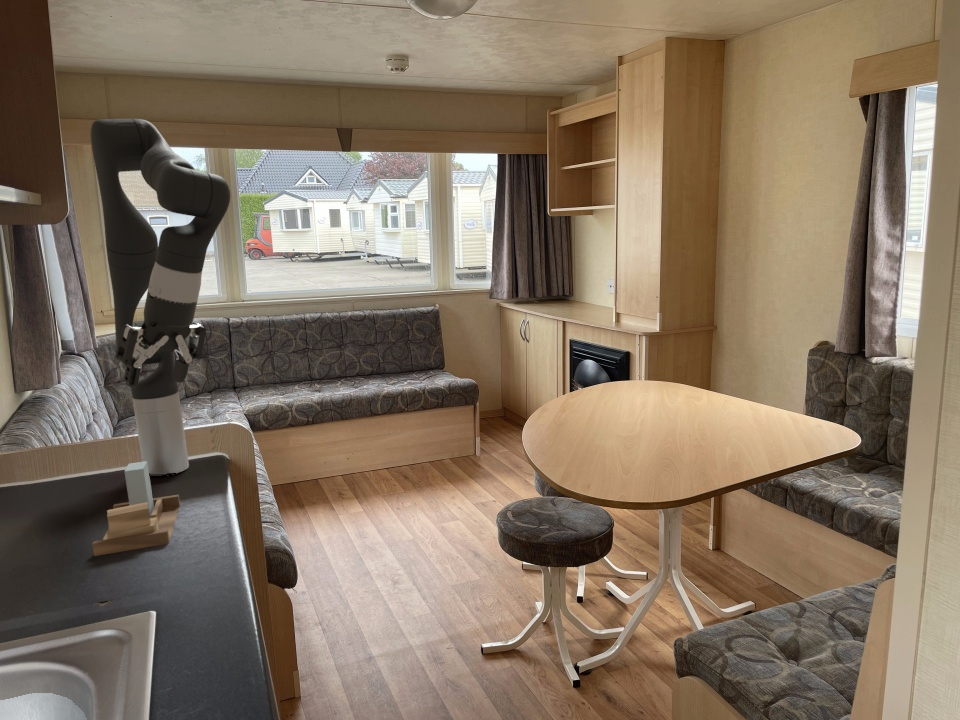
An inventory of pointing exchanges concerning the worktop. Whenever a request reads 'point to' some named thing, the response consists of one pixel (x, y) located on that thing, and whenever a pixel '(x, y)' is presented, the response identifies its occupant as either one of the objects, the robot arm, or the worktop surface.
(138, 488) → the block
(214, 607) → the worktop surface
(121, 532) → the offcut low
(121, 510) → the offcut top
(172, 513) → the rack
